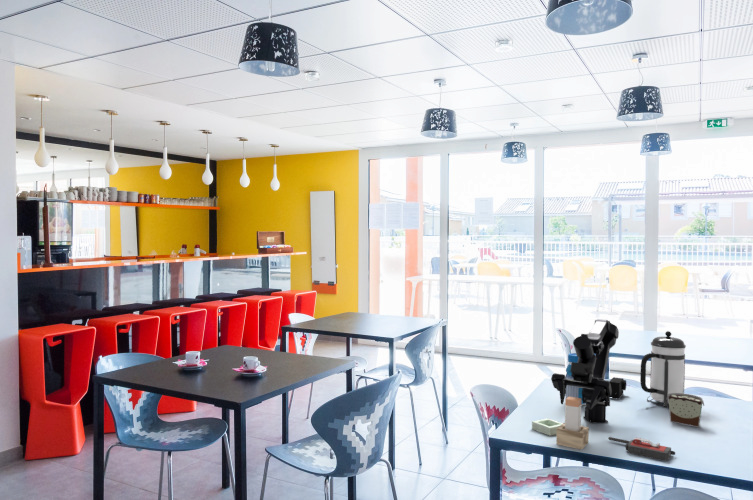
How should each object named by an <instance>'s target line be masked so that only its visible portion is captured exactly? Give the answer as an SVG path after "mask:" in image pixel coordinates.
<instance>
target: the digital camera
mask: <svg viewBox="0 0 753 500" xmlns="http://www.w3.org/2000/svg"><path fill="white" fill-rule="evenodd" d="M608 381H609V382H610V385H611V389H612V393H611V396H610V397H612V398H611V399H616V398H617V400H619V399H620V398H621V397H622V396H623V395H624V391H626V389H627V380H626V379H625V378H622V377H615V376H614V377H612V378H611V379H610V380H608Z"/></svg>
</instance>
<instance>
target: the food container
mask: <svg viewBox="0 0 753 500" xmlns="http://www.w3.org/2000/svg"><path fill="white" fill-rule="evenodd" d="M667 399H668V400H669V403H668V408H669V409H668V411H669V421H670V423H675V424H680V425H684V426H685V425H687V426H689V427H690V426H691V427H694V428H699V427H700V423H701V417H702V416H701V415H702V408H703V407H704V406H705V403H704V400H703V398H702V397H700V396H697V395H693V394H689V393H684V394H683V393H670V394H668V396H667Z"/></svg>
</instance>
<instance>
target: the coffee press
mask: <svg viewBox="0 0 753 500" xmlns="http://www.w3.org/2000/svg"><path fill="white" fill-rule="evenodd" d="M664 334H665V336H657V337H654V338H653V339H652V340H651V342H650V345H651V350H650V352H649V353H646V354H644V356H643V357H642V359H641V362H640V388H642V391H644V392H646V393H649V396H648V397H647V399H646V400H647V402H649V401H650V402H652V401H653V400H654V401H657V402H660V403H663V408H668V407H669V400H668V399H667V396H668V394H670V393H683V394H685V376H686V375H685V374H686V373H685V372H686V370H685V369H686V354H685V350H686V347H687V345H686V344H685V342H684V340H682V339H680V338H677V337H671V336H672V332H671V331H669V330H667V331H665V333H664ZM649 359H650V383H649V386H650V388H648V387H647V385H646V383H647V382H646V381H647V380H646V377H647V375H646V374H647V362H648V360H649ZM650 397H651V399H649V398H650Z"/></svg>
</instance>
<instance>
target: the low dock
mask: <svg viewBox="0 0 753 500" xmlns="http://www.w3.org/2000/svg"><path fill="white" fill-rule="evenodd" d="M563 423H564V422H563ZM563 423H562V422H560V421H556V420H554V419H551V418H542V419H539V420H533V421H531V429H532V430H534V431H536V432H539V433H542V434H545V435H547V436H554V435H557V428H558V427H559V426H561V425H562V424H563Z"/></svg>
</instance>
